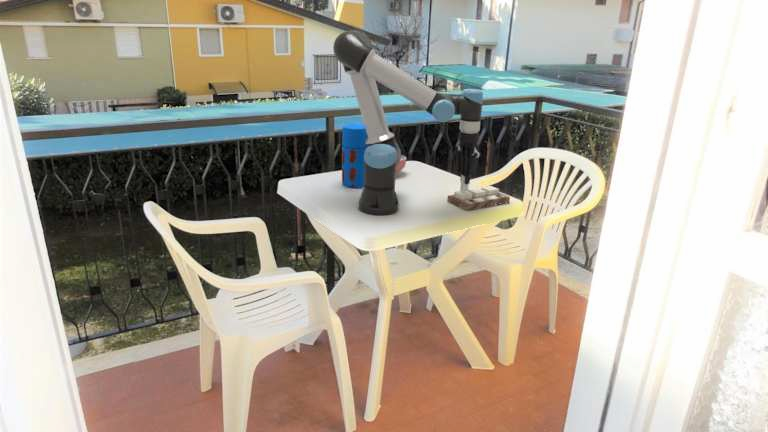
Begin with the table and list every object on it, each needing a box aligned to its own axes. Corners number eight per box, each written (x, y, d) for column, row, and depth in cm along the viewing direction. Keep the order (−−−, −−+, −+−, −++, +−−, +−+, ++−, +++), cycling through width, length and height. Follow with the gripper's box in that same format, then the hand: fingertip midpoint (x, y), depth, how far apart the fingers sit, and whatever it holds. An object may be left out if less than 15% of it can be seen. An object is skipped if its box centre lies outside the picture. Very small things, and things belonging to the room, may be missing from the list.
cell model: (410, 178, 238) (412, 154, 234) (368, 180, 233) (368, 155, 229) (399, 168, 253) (400, 145, 249) (358, 170, 248) (359, 146, 244)
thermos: (364, 189, 221) (365, 130, 212) (339, 187, 222) (339, 128, 213) (369, 182, 231) (370, 125, 222) (345, 179, 232) (345, 123, 223)
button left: (461, 201, 205) (462, 195, 204) (453, 197, 209) (454, 191, 208) (471, 199, 207) (472, 193, 207) (463, 196, 211) (464, 190, 211)
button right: (489, 196, 212) (489, 190, 211) (480, 193, 216) (481, 187, 215) (498, 195, 214) (499, 189, 214) (489, 191, 218) (490, 185, 218)
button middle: (475, 199, 208) (476, 193, 208) (467, 195, 212) (468, 189, 212) (485, 197, 211) (486, 191, 210) (477, 193, 215) (477, 187, 214)
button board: (466, 211, 201) (467, 204, 200) (447, 201, 210) (447, 194, 209) (509, 202, 212) (510, 196, 211) (488, 194, 221) (489, 187, 220)
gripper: (488, 133, 195) (482, 194, 204) (466, 127, 206) (460, 185, 214) (473, 135, 192) (467, 197, 200) (450, 128, 202) (446, 187, 210)
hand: (464, 191), depth 207 cm, fingers closed
